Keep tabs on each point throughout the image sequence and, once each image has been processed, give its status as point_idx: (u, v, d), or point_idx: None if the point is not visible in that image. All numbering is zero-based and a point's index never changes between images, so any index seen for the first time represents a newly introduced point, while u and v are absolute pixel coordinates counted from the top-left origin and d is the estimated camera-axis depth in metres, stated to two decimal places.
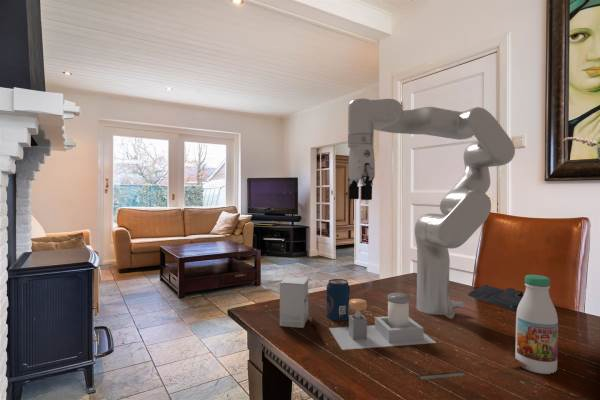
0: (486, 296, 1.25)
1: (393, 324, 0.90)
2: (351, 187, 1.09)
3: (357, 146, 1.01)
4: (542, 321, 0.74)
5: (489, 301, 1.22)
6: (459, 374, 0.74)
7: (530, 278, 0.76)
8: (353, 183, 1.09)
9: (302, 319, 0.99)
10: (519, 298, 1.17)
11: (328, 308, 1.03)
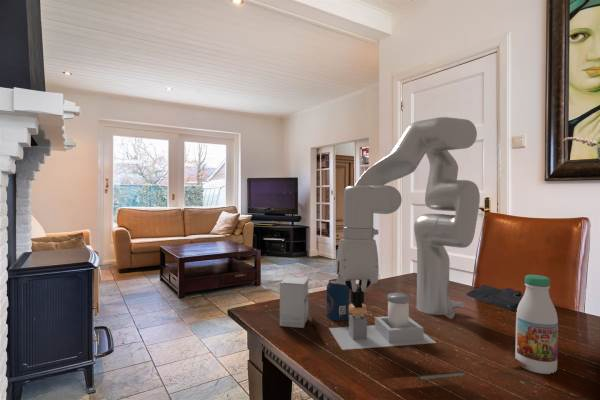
0: (484, 296, 1.25)
1: (393, 324, 0.90)
2: None
3: (372, 242, 0.87)
4: (542, 321, 0.74)
5: (487, 301, 1.22)
6: (459, 374, 0.74)
7: (530, 278, 0.76)
8: None
9: (302, 319, 0.99)
10: (517, 298, 1.17)
11: (328, 308, 1.03)
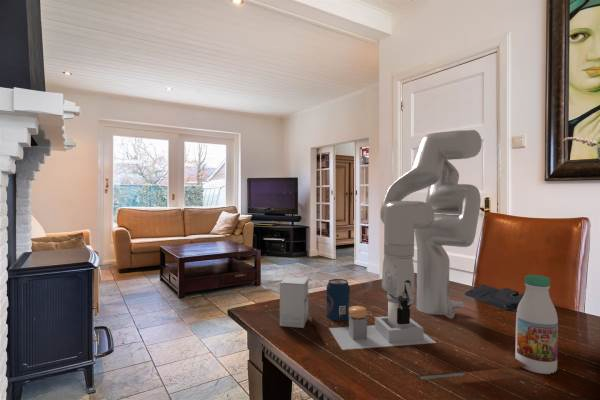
0: (482, 295, 1.26)
1: (393, 324, 0.90)
2: None
3: None
4: (542, 321, 0.74)
5: (484, 300, 1.23)
6: (459, 374, 0.74)
7: (530, 278, 0.76)
8: None
9: (302, 319, 0.99)
10: (513, 298, 1.17)
11: (328, 308, 1.03)
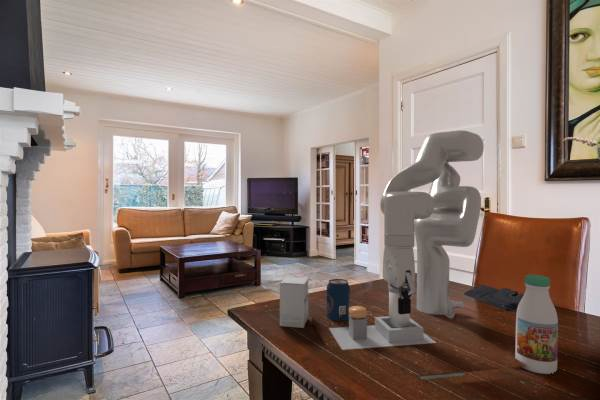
0: (481, 295, 1.26)
1: (394, 314, 0.90)
2: None
3: None
4: (542, 321, 0.74)
5: (483, 300, 1.23)
6: (459, 374, 0.74)
7: (530, 278, 0.76)
8: None
9: (302, 319, 0.99)
10: (512, 298, 1.17)
11: (328, 308, 1.03)
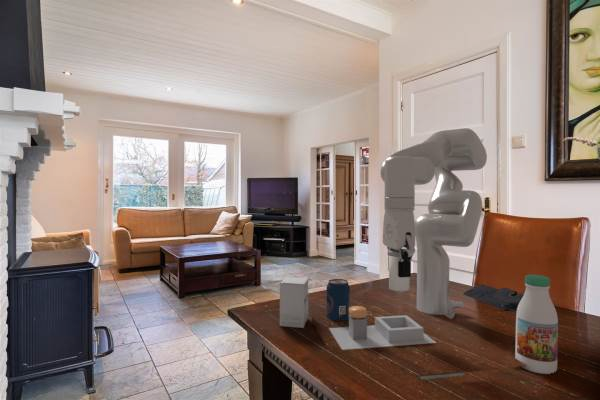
0: (480, 295, 1.26)
1: (394, 278, 0.89)
2: None
3: None
4: (542, 321, 0.74)
5: (482, 300, 1.23)
6: (459, 374, 0.74)
7: (530, 278, 0.76)
8: None
9: (302, 319, 0.99)
10: (512, 298, 1.17)
11: (328, 308, 1.03)
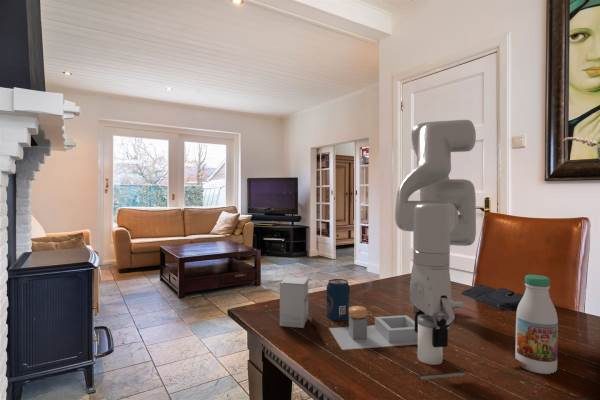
0: (477, 295, 1.27)
1: (424, 352, 0.76)
2: None
3: None
4: (542, 321, 0.74)
5: (479, 300, 1.23)
6: (459, 374, 0.74)
7: (530, 278, 0.76)
8: None
9: (302, 319, 0.99)
10: (508, 298, 1.18)
11: (328, 308, 1.03)
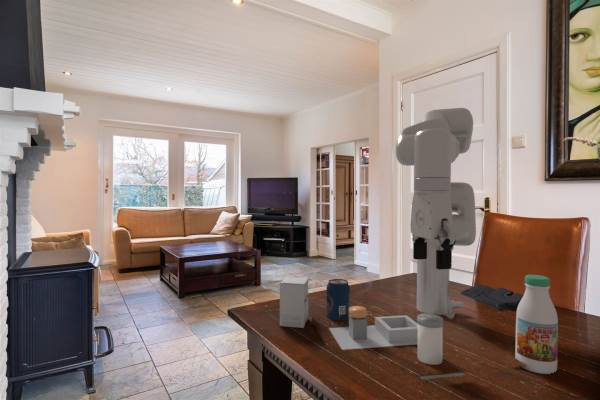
0: (477, 295, 1.27)
1: (424, 352, 0.76)
2: None
3: None
4: (542, 321, 0.74)
5: (478, 300, 1.23)
6: (459, 374, 0.74)
7: (530, 278, 0.76)
8: None
9: (302, 319, 0.99)
10: (507, 298, 1.18)
11: (328, 308, 1.03)
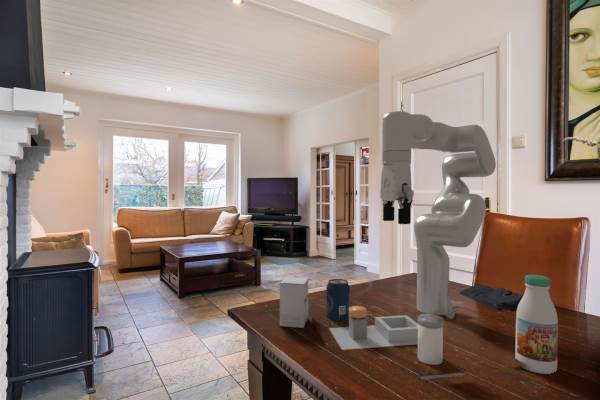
0: (475, 294, 1.27)
1: (425, 352, 0.76)
2: None
3: None
4: (542, 321, 0.74)
5: (477, 299, 1.24)
6: (459, 374, 0.74)
7: (530, 278, 0.76)
8: None
9: (302, 319, 0.99)
10: (505, 298, 1.18)
11: (328, 308, 1.03)
